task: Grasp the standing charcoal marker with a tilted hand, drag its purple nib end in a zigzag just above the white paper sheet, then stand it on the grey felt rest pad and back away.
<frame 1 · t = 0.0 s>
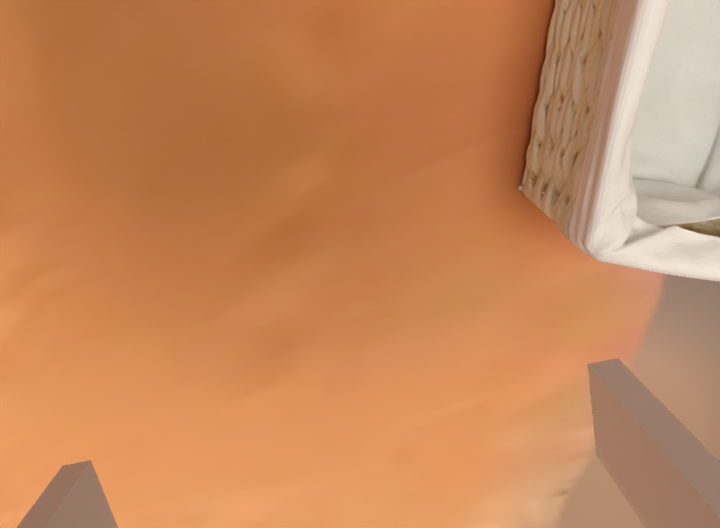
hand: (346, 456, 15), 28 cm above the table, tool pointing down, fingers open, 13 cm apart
storage basket: (651, 49, 39), on the table
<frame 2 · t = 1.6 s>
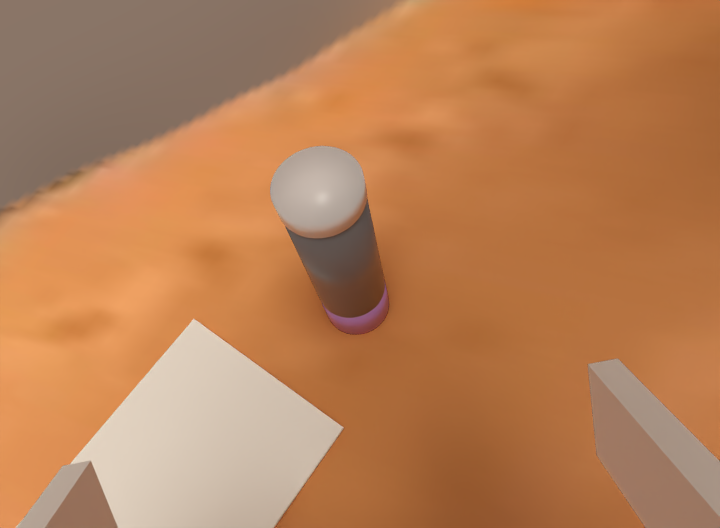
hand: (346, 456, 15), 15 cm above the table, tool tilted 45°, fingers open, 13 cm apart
paper: (179, 480, 30), on the table
marker: (357, 304, 33), on the table
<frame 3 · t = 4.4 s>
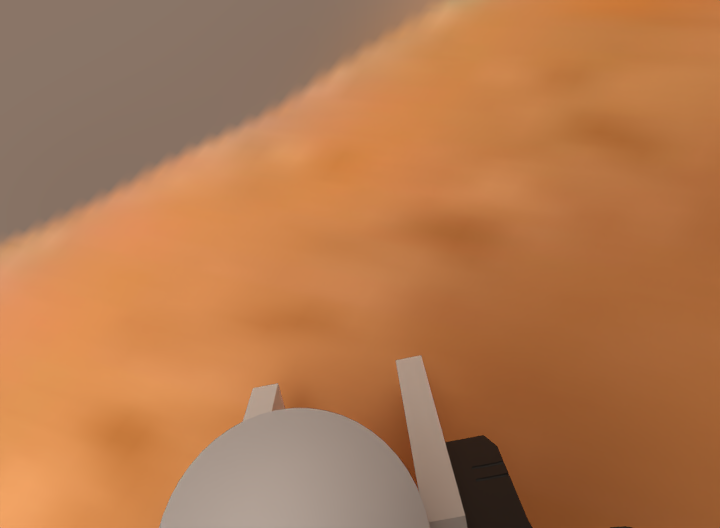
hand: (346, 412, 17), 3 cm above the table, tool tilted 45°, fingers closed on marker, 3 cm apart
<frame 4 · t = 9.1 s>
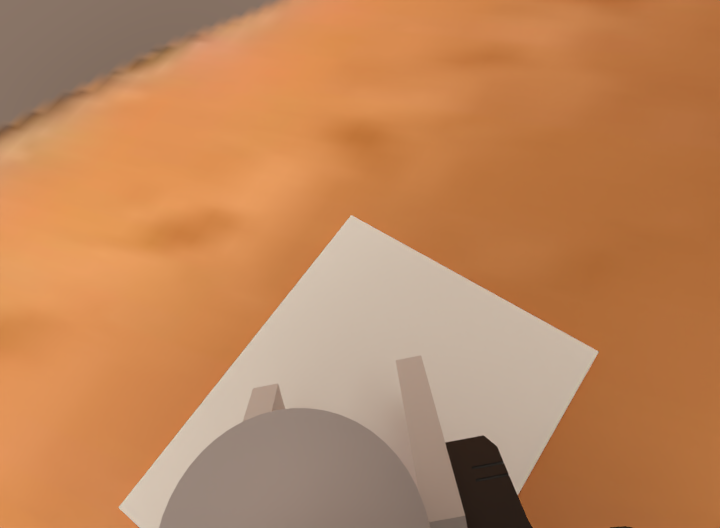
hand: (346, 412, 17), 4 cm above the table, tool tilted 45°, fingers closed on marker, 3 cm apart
paper: (361, 430, 21), on the table
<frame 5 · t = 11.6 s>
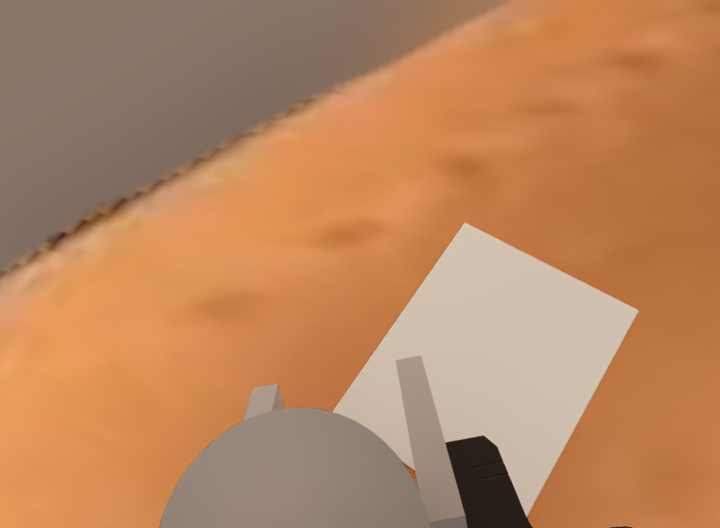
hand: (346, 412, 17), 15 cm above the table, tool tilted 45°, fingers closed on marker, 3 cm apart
paper: (485, 362, 32), on the table
when the fingers open (4 cm above the table, at t = 13.6 s): marker stays where it is, resting on rest pad.
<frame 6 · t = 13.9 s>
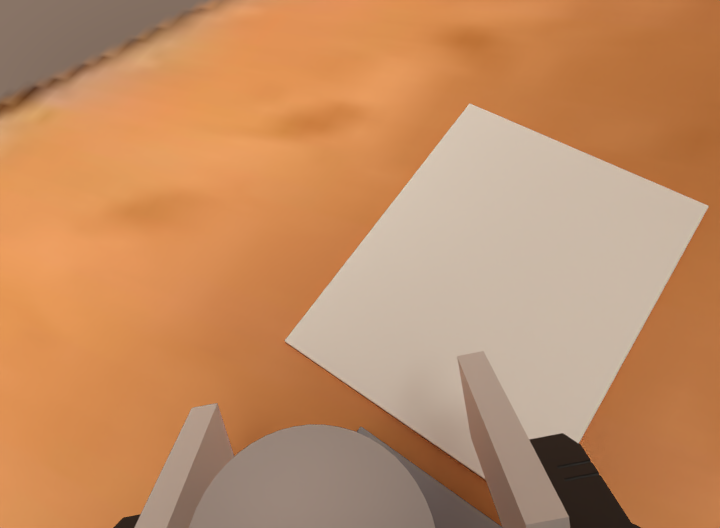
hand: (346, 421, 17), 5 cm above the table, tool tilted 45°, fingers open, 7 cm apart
paper: (497, 275, 23), on the table
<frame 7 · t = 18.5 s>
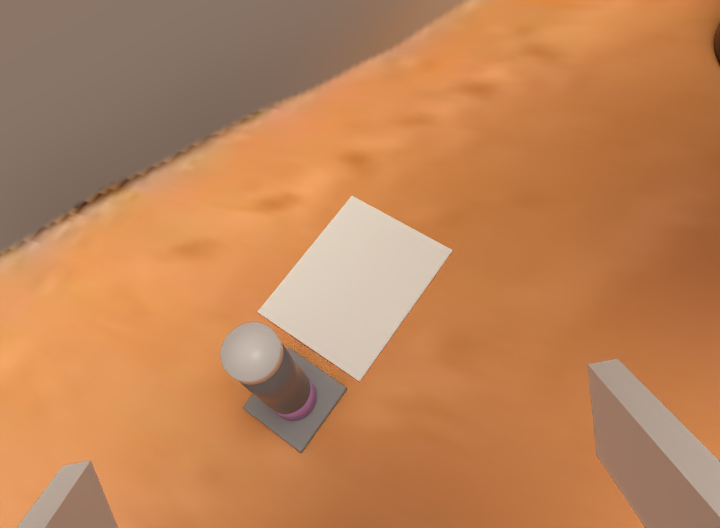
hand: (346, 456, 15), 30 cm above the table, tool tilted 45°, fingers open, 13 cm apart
rest pad: (295, 398, 46), on the table
paper: (355, 281, 50), on the table
marker: (294, 398, 46), resting on rest pad
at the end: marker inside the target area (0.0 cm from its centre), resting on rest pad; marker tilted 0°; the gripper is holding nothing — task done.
